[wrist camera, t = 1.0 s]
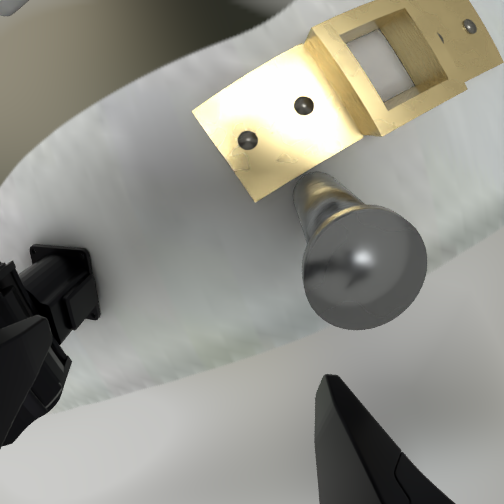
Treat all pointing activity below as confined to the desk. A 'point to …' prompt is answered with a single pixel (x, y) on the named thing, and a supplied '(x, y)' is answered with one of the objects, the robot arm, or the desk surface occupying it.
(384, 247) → the hinge pin
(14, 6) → the photo printer
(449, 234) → the desk surface
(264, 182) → the brass socket plate
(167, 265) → the desk surface
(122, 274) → the desk surface
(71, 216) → the desk surface
